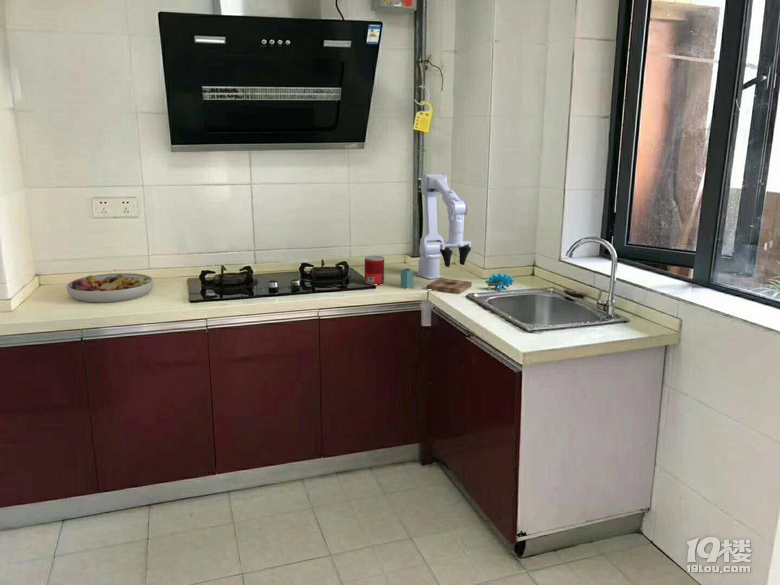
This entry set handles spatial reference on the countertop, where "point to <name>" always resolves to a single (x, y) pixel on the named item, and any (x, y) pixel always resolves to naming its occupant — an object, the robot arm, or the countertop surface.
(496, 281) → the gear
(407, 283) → the post
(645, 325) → the countertop surface
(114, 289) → the bowl
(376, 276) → the canned food
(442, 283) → the slot plate
